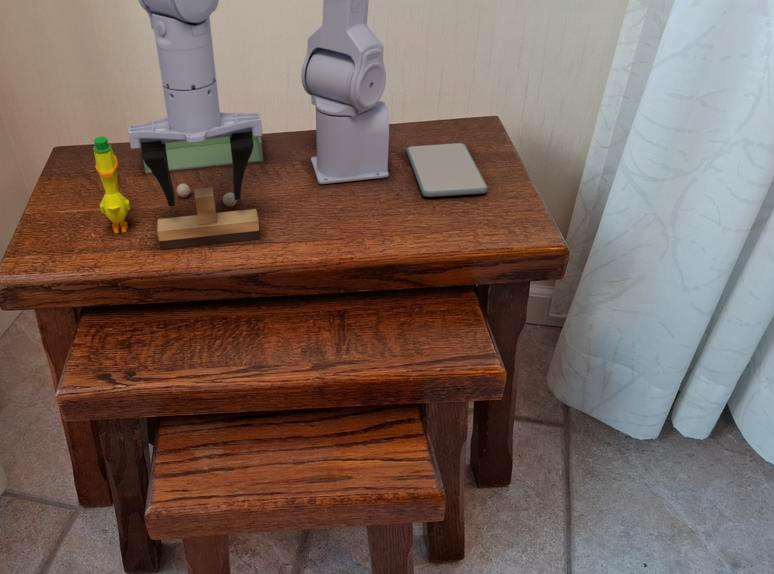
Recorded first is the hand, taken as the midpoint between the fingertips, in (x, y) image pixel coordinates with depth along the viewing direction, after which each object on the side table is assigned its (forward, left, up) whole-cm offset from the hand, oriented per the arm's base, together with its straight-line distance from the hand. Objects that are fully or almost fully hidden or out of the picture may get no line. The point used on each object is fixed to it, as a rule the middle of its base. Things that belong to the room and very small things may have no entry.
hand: (204, 199), depth 90 cm
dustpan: (0, -25, -5) cm, 26 cm away
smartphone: (-32, -11, -5) cm, 34 cm away
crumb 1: (+3, -12, -4) cm, 13 cm away
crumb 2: (-3, -8, -4) cm, 10 cm away
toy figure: (+11, -5, -5) cm, 13 cm away
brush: (0, 0, -5) cm, 5 cm away
